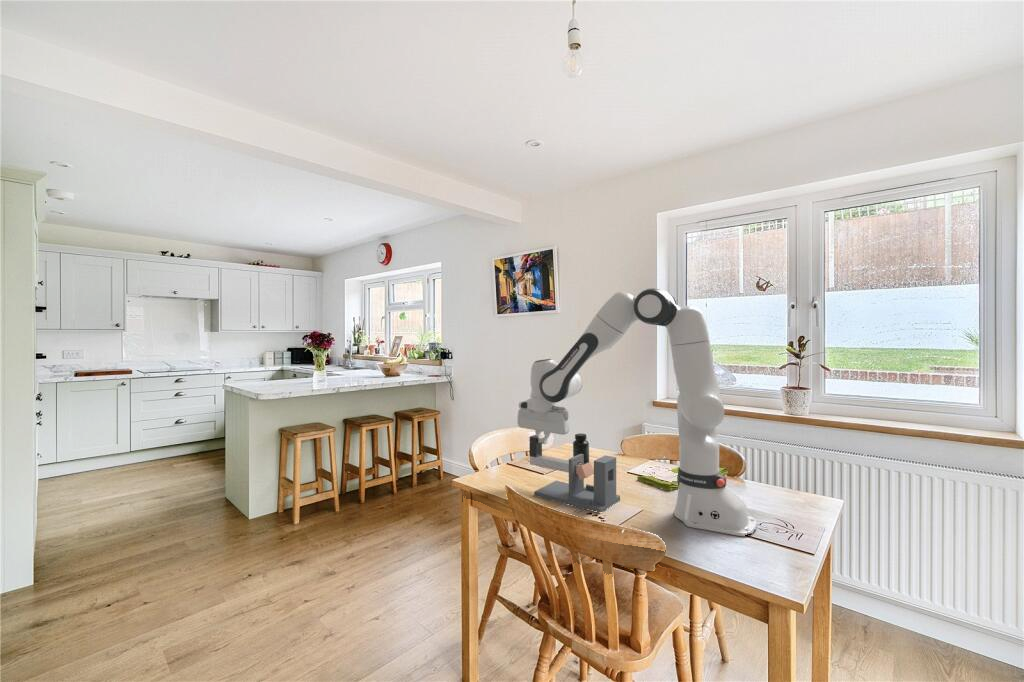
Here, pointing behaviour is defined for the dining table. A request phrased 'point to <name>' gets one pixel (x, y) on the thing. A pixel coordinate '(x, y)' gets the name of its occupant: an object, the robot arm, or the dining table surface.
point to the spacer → (585, 470)
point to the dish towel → (668, 485)
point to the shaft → (546, 458)
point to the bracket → (590, 495)
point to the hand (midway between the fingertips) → (542, 443)
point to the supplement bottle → (581, 446)
